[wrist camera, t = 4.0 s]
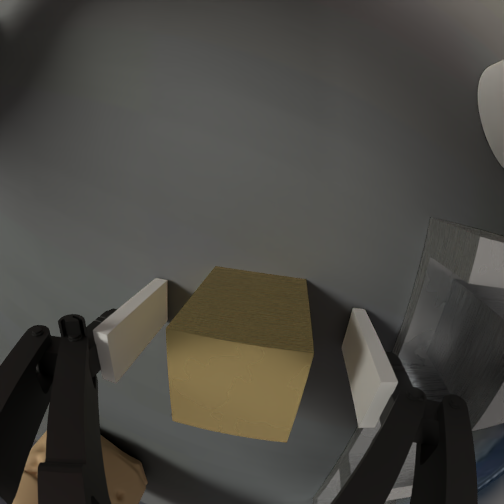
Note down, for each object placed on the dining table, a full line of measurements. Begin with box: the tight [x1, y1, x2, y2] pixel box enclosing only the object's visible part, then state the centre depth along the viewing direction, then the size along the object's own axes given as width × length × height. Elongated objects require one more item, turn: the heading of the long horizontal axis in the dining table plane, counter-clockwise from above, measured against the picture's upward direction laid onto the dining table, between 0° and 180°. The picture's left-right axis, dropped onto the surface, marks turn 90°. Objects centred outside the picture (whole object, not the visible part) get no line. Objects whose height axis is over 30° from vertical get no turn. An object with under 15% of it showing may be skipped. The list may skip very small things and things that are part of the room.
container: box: [12, 431, 148, 504], centre depth 15 cm, size 13×13×18 cm
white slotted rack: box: [313, 217, 504, 504], centre depth 13 cm, size 30×9×8 cm, turn 174°
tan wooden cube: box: [166, 266, 314, 442], centre depth 13 cm, size 5×5×7 cm
